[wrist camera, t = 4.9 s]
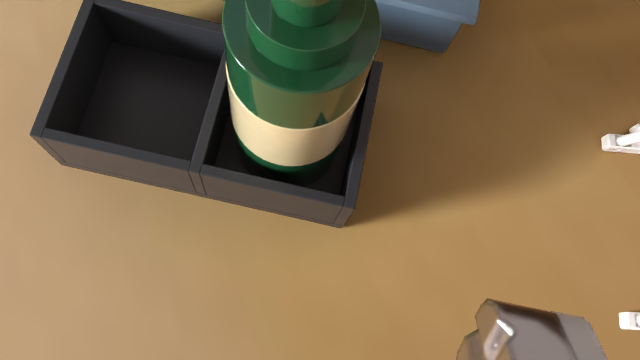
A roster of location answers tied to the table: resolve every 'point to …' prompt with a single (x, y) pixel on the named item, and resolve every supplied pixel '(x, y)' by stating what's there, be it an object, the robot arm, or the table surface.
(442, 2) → the blue-grey rectangular block
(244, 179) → the divided storage box
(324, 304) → the table surface
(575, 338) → the robot arm
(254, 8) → the bottle
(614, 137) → the film strip holder
